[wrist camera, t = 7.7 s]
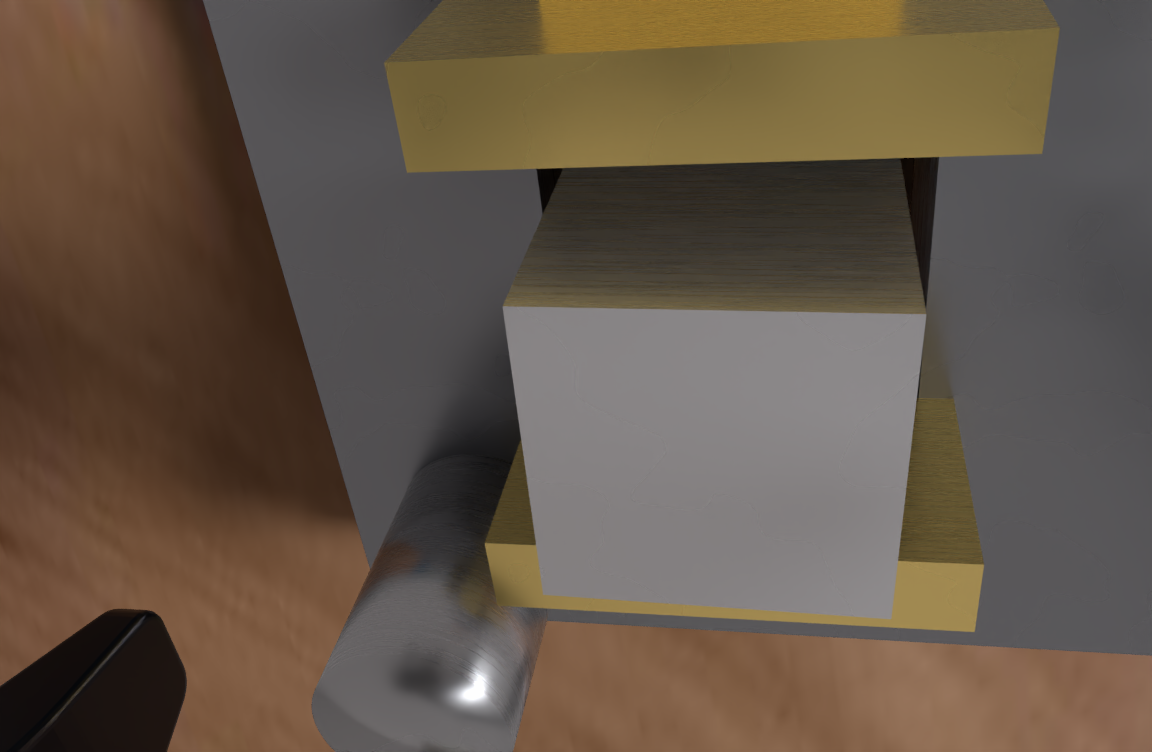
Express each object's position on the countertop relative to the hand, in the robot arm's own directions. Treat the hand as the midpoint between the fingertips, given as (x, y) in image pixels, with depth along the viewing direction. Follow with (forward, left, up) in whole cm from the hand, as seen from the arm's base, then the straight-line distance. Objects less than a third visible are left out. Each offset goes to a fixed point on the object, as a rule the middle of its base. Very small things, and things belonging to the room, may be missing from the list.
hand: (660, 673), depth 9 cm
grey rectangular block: (0, 0, -11) cm, 11 cm away
